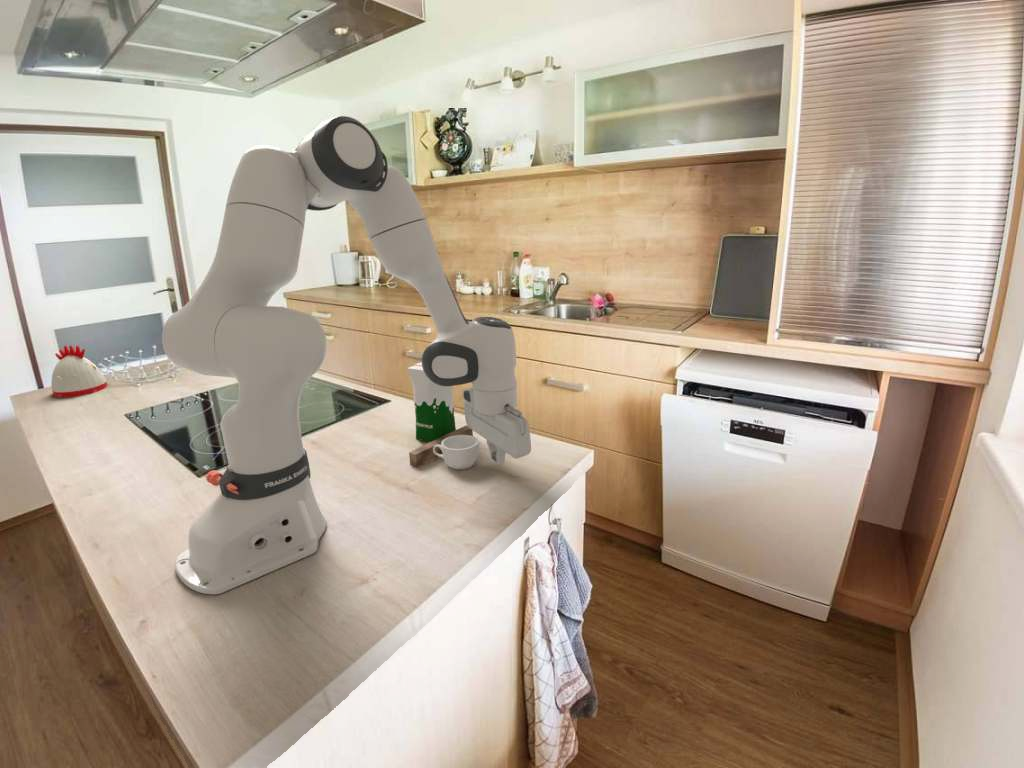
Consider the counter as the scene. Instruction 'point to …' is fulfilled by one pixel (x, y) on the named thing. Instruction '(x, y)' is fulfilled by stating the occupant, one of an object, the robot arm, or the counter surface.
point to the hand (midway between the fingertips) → (497, 460)
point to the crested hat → (75, 374)
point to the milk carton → (431, 406)
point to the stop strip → (426, 451)
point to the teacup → (459, 451)
